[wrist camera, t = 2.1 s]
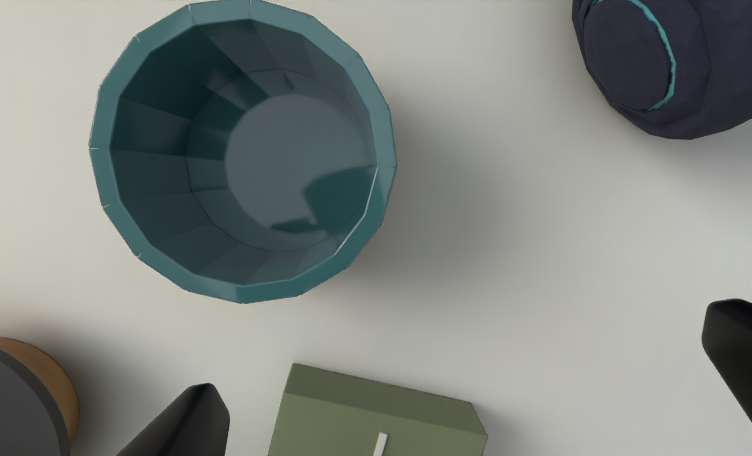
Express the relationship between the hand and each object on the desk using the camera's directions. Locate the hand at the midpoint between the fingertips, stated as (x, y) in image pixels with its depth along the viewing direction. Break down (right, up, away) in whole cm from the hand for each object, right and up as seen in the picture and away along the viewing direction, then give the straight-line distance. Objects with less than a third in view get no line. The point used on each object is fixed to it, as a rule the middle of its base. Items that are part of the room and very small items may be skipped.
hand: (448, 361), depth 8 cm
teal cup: (-6, +6, +13) cm, 15 cm away
